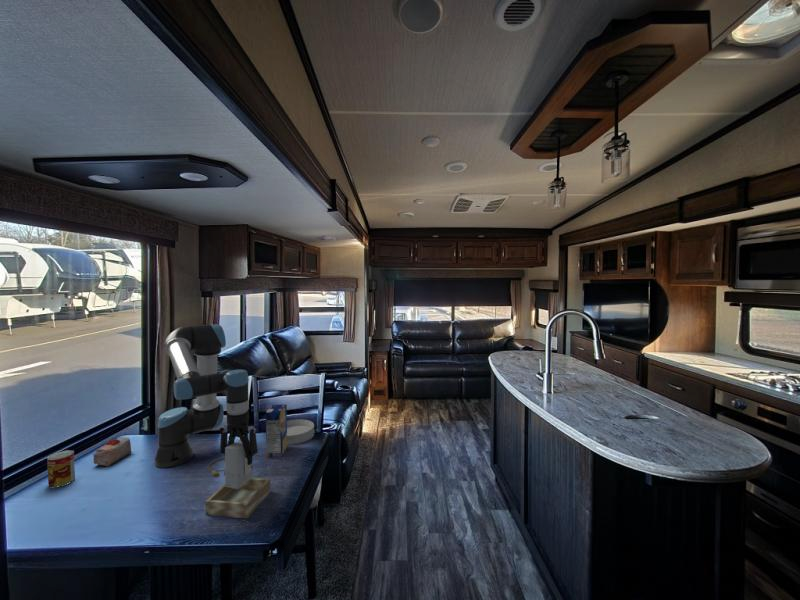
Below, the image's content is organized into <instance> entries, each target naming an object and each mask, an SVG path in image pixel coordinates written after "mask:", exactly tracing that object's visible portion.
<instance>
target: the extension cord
mask: <svg viewBox="0 0 800 600" xmlns="http://www.w3.org/2000/svg"><path fill="white" fill-rule="evenodd" d="M222 460H225V457H222V458H217V459H215V460H212V462H210V464H208V466H207V470H208V471H210V472H211V475H212V477H215V478H216V477H219V476H220V473H219V472H223V471H224V476H225V469H222V470H219V472H218V470H212V469H211V468H210V467H211V466H212V465H214V464H215V463H217V462H219V461H222Z"/></svg>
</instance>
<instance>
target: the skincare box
mask: <svg viewBox="0 0 800 600" xmlns="http://www.w3.org/2000/svg"><path fill="white" fill-rule="evenodd" d="M249 442H250V439H249ZM245 457H246V453H245V450H244V447H243V444H242V441H241V440H240V439H239V440H237V441H234V443H233V444H231V445H229V446H227V447H226V448H225V455H224V461H225V462H224V467H225V468H224V472H225V475H224V478H225V479H224V484H225V486H226V487H230V488H233V489H239V488H240V487H241V486H242V485H244V484H245V483H246V482H248V481H249V480H251V479H252V478H254V477H253V462H254V461H253V462H252V464H251V471H250V472H249V473H248V474H247V475H245Z"/></svg>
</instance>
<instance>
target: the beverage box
mask: <svg viewBox="0 0 800 600" xmlns="http://www.w3.org/2000/svg"><path fill="white" fill-rule="evenodd" d="M287 406H288V405H287V404H272V405H271V406H270V407H269V408H268V409H267V410H266V412H265V436H266V437H265V439H266V441H265V442H266V451H265V452H266V459H272V458H282V457H283V455H284V453H285V451H286V449H287V447H288V445H287V421H288V415H287V411H288V409H287Z"/></svg>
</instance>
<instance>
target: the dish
mask: <svg viewBox="0 0 800 600" xmlns="http://www.w3.org/2000/svg"><path fill="white" fill-rule="evenodd" d="M314 433H315V424H314V422H313V421H311V420H308V419H300V418H299V419H290V420H287V446H289V445H292V446H293V445H297V444H302V443H305V442H307V441H309V440H311V439H312V438H313V437H314V436H315V434H314Z"/></svg>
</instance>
